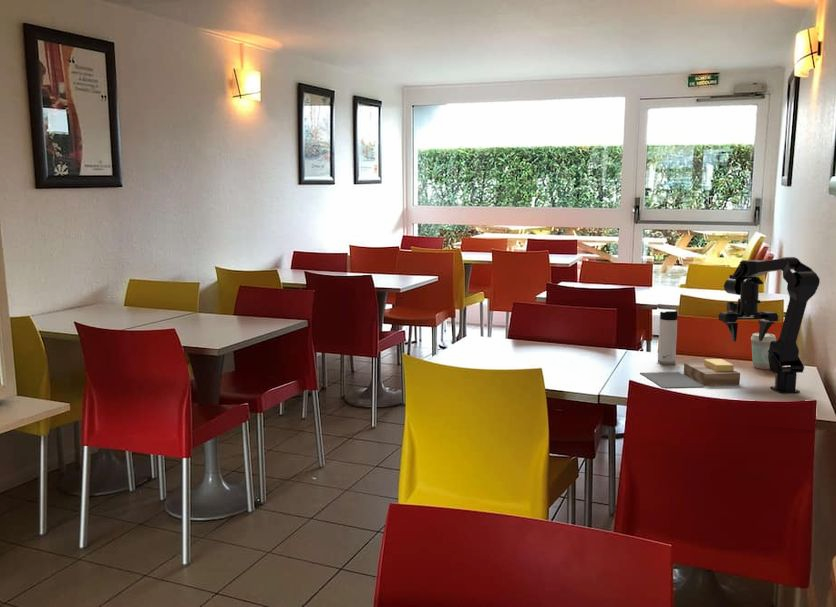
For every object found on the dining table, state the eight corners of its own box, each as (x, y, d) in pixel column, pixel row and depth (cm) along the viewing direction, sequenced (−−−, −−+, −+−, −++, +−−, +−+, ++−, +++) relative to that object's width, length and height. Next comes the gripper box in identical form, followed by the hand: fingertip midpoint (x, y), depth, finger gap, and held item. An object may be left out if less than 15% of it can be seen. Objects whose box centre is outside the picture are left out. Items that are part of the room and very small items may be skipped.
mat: (704, 387, 244) (704, 386, 244) (662, 388, 243) (663, 387, 242) (678, 372, 263) (678, 371, 263) (640, 373, 262) (640, 372, 262)
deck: (739, 384, 247) (740, 373, 246) (704, 385, 246) (705, 373, 245) (716, 373, 262) (717, 362, 262) (683, 374, 261) (684, 362, 261)
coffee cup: (758, 370, 267) (760, 337, 265) (743, 364, 275) (745, 333, 273) (779, 369, 269) (782, 336, 267) (764, 363, 277) (766, 332, 275)
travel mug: (665, 365, 274) (668, 312, 271) (654, 361, 280) (656, 309, 277) (679, 364, 276) (682, 311, 273) (667, 360, 282) (669, 308, 279)
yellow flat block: (733, 370, 249) (733, 364, 249) (716, 371, 249) (716, 365, 249) (720, 364, 258) (721, 358, 258) (704, 364, 258) (704, 359, 258)
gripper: (763, 293, 264) (761, 337, 265) (712, 294, 262) (710, 338, 264) (780, 297, 252) (778, 342, 254) (727, 298, 251) (725, 343, 253)
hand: (747, 341), depth 257 cm, fingers open, 9 cm apart
